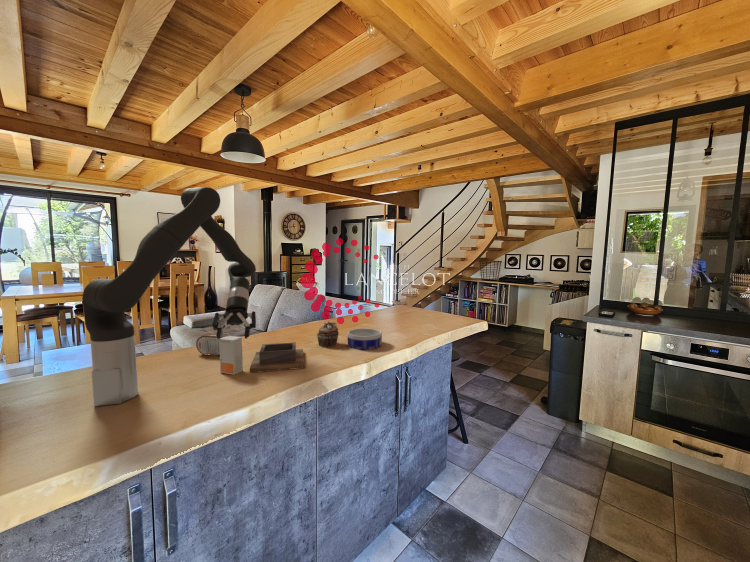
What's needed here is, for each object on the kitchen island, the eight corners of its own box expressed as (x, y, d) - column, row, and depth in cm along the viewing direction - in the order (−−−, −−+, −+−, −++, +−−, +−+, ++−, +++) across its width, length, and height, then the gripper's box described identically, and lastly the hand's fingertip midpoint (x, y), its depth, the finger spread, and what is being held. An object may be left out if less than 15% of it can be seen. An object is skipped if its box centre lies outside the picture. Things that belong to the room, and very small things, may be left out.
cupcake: (323, 340, 144) (323, 319, 143) (342, 342, 141) (342, 321, 140) (312, 346, 135) (312, 324, 134) (332, 348, 132) (332, 325, 131)
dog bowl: (355, 339, 147) (355, 326, 147) (385, 342, 143) (385, 329, 142) (341, 348, 133) (341, 334, 132) (375, 351, 128) (375, 337, 128)
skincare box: (219, 373, 104) (218, 338, 103) (229, 368, 108) (227, 335, 107) (234, 375, 102) (233, 340, 101) (243, 370, 106) (242, 336, 105)
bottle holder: (303, 368, 109) (303, 352, 108) (249, 372, 104) (249, 356, 104) (303, 352, 126) (302, 339, 126) (256, 355, 122) (256, 342, 121)
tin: (235, 354, 124) (234, 333, 123) (231, 357, 120) (230, 335, 120) (200, 353, 125) (199, 332, 124) (195, 355, 122) (194, 334, 121)
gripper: (215, 295, 114) (208, 334, 103) (256, 294, 117) (253, 331, 107) (219, 307, 119) (212, 345, 109) (258, 306, 123) (255, 342, 112)
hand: (232, 338), depth 108 cm, fingers open, 8 cm apart
